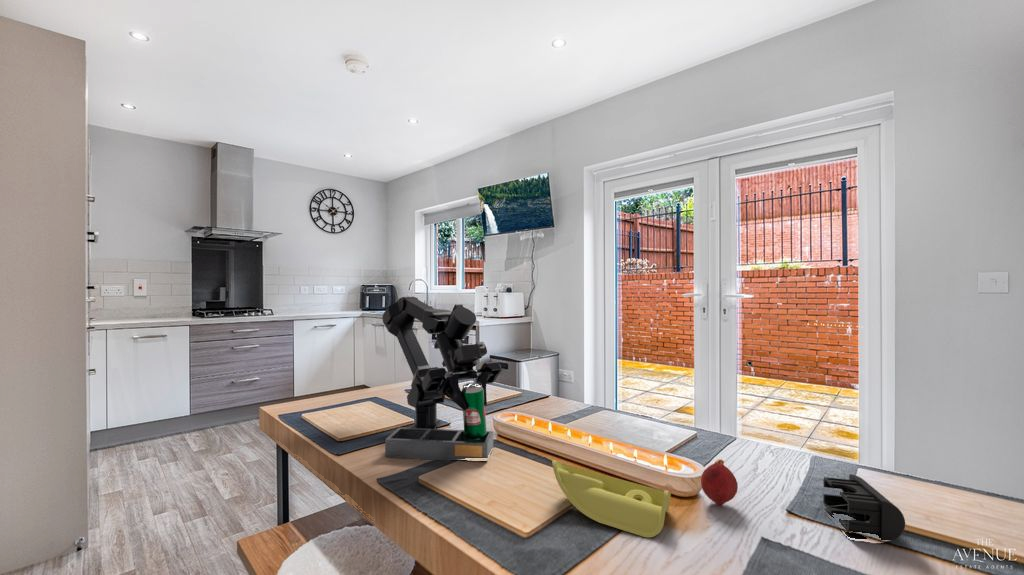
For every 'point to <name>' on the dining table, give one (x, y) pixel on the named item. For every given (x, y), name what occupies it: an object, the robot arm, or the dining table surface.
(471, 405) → the soda can
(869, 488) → the end cap
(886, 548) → the dining table surface
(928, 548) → the dining table surface
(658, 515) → the plastic component
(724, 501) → the onion
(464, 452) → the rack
